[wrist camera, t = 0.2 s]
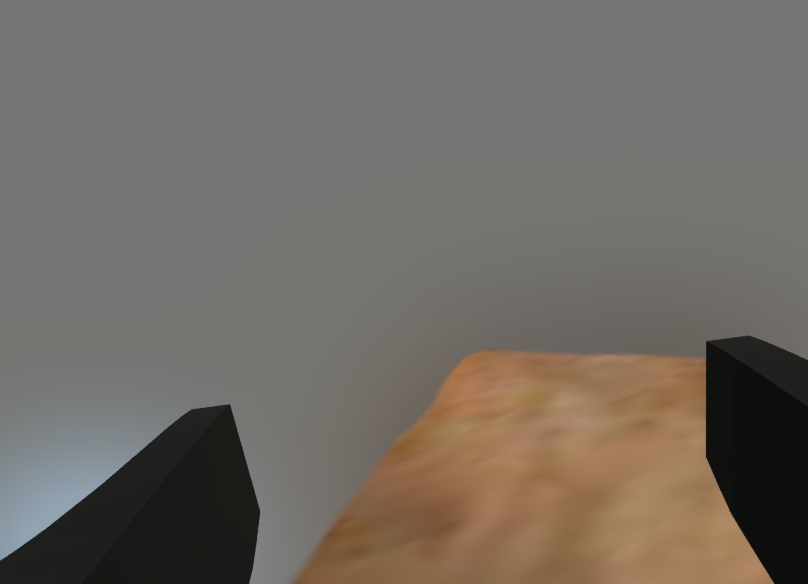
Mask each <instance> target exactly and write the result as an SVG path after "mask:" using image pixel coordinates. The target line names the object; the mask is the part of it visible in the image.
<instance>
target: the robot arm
mask: <svg viewBox="0 0 808 584" xmlns="http://www.w3.org/2000/svg"><path fill="white" fill-rule="evenodd" d="M706 458H707V460H708V462H709V465H710V467H711V469H712V472H713V474H714V476H715V479H716V481H717V483H718V486H719V488H720V490H721V492H722V495H723V497H724V499H725V501H726V503H727V505H728V508H729V510H730V512H731V514H732V516H733V517H734V519H735V521H736V522H737V524H738V526H739V527H740V529H741V531H742V532H743V534H744V536H745V537H746V539H747V540H748V542H749V544H750V545H751V547H752V549H753V550H754V552H755V553H756V555H757V557H758V558H759V560H760V562H761V563H762V565H763V566H764V568H765V569H766V571H767V573H768V574H769V576H770V577H771V579H772V581H773V582H774V584H808V360H806V359H804V358H801V357H800V356H797V355H795V354H793V353H791V352H788V351H786V350H784V349H782V348H779V347H777V346H775V345H772V344H770V343H768V342H765V341H762V340H760V339H757V338H754V337H751V336H742V337H735V338H727V339H720V340H712V341H706ZM259 517H260V509H259V505H258V502H257V498H256V495H255V492H254V488H253V485H252V481H251V477H250V474H249V470H248V466H247V463H246V459H245V456H244V452H243V449H242V445H241V442H240V438H239V435H238V431H237V427H236V424H235V420H234V417H233V413H232V410H231V406H230V405H221V406H214V407H206V408H199V409H192V410H190V411H189V412H187V413H186V414H184V415H183V416H182V417H180V418H179V419H178V420H176V421H175V422H174V423H173V424H172V425H170V426H169V427H168V428H167V429H166V430H164V431H163V432H162V433H161V434H160V435H159V436H157V437H156V438H155V439H154V440H153V441H152V442H150V443H149V444H148V445H147V446H146V447H145V448H144V449H143V450H141V451H140V452H139V453H138V454H137V455H136V456H134V457H133V458H132V459H131V460H130V461H129V462H127V463H126V464H125V465H124V466H123V467H122V468H120V469H119V470H118V471H117V472H116V473H115V474H113V475H112V476H111V477H110V478H109V479H108V480H106V481H105V482H104V483H103V484H102V485H100V486H99V487H98V488H97V489H96V490H94V491H93V492H92V493H91V494H89V495H88V496H87V497H86V498H84V499H83V500H82V501H80V502H79V503H78V504H76V505H75V506H74V507H73V508H72V509H70V510H69V511H68V512H66V513H65V514H64V515H63V516H61V517H60V518H59V519H58V520H56V521H55V522H54V523H53V524H51V525H50V526H49V527H47V528H46V529H45V530H43V531H42V532H41V533H39V534H38V535H37V536H35V537H34V538H33V539H31V540H30V541H28V542H27V543H25V544H24V545H23V546H21V547H20V548H19V549H17V550H16V551H14V552H13V553H11V554H10V555H8V556H7V557H5V558H4V559H2V560H1V561H0V584H249V581H250V578H251V574H252V569H253V563H254V556H255V549H256V542H257V534H258V526H259Z"/></svg>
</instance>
